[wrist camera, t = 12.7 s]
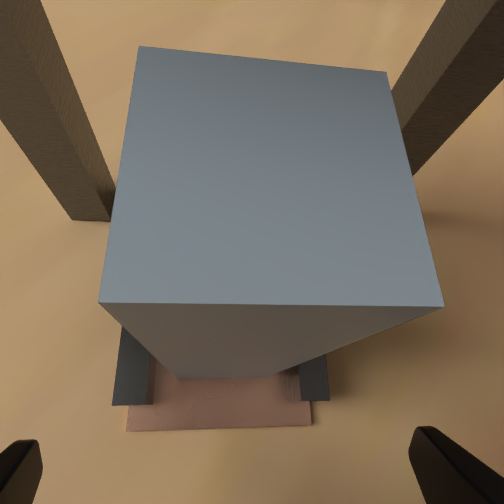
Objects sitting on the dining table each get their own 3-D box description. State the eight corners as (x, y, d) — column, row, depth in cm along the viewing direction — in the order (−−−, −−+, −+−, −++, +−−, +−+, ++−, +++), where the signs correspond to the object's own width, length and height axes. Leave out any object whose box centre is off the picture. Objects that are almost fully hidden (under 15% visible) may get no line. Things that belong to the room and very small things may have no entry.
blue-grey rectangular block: (265, 377, 16) (445, 306, 4) (177, 378, 15) (98, 302, 4) (262, 294, 18) (385, 71, 6) (182, 292, 17) (138, 46, 5)
